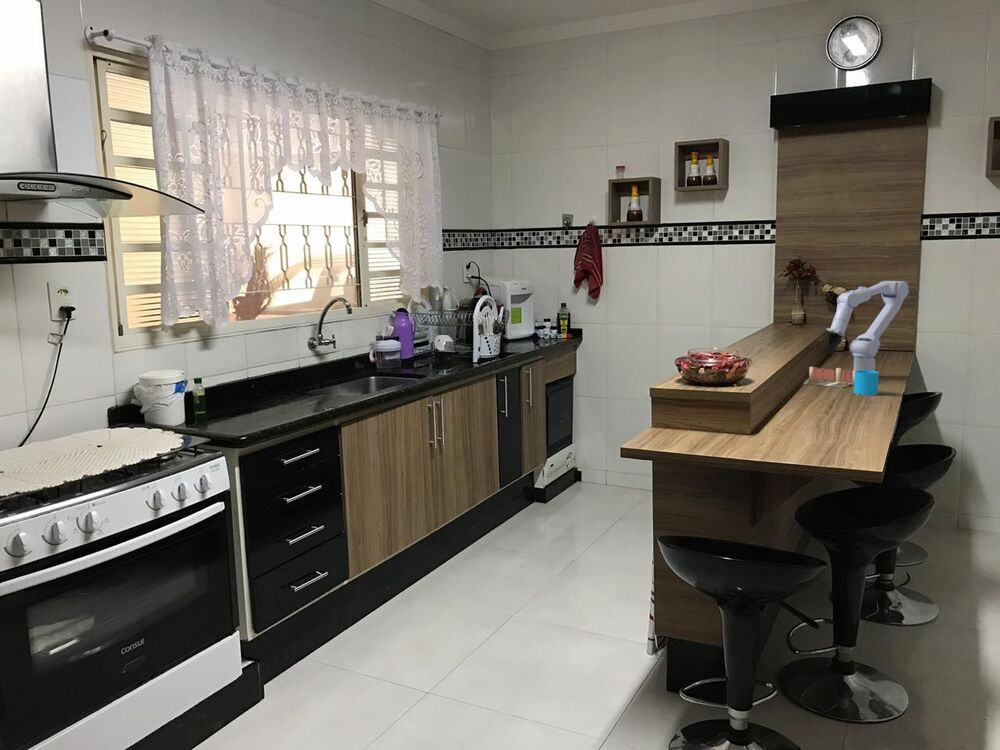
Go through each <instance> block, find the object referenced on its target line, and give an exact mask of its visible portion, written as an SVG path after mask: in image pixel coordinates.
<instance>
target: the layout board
mask: <svg viewBox="0 0 1000 750" xmlns="http://www.w3.org/2000/svg"><path fill="white" fill-rule="evenodd" d="M805 380H806V379H805ZM808 381H809V378H807V380H806V381H805V382H804V383H803V384H802V385H806V384H807V383H808ZM818 381H826V380H818ZM833 382H834V383H833ZM838 383H845V382H835V381H827V382H822V383H818V385H823V386H822V387H826V386H832V387H831V388H836V387H841V386H840V385H838V386H837V384H838ZM848 384H852V383H848ZM843 387H846V386H843ZM843 387H842V388H841V389H844V388H843ZM846 388H847V387H846Z"/></svg>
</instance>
